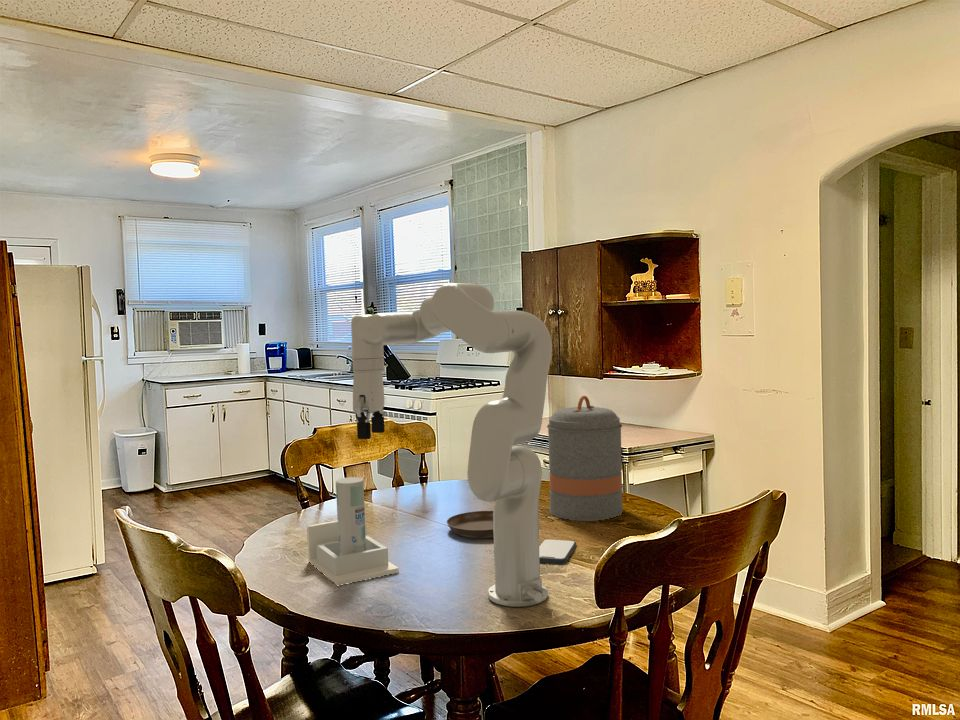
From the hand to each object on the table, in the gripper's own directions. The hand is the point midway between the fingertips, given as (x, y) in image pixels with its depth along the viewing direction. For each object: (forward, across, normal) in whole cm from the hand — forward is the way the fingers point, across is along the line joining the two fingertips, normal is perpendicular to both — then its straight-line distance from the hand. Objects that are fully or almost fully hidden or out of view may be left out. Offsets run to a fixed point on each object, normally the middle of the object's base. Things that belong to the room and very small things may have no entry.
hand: (371, 435), depth 178 cm
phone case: (+32, -11, +43) cm, 54 cm away
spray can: (+30, +6, -4) cm, 31 cm away
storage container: (+31, -51, +48) cm, 77 cm away
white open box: (+31, +6, -4) cm, 32 cm away
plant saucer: (+32, -29, +21) cm, 48 cm away
